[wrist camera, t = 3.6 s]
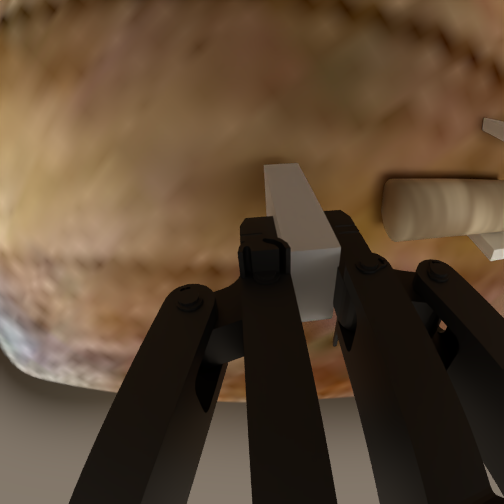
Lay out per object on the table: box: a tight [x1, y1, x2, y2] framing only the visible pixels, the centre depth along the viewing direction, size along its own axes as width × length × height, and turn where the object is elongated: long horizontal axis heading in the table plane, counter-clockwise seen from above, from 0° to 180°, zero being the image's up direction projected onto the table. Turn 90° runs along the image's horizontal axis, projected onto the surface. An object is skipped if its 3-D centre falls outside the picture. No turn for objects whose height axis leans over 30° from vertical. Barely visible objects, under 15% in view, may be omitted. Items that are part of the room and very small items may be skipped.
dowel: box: [381, 179, 504, 242], centre depth 15 cm, size 9×3×3 cm
